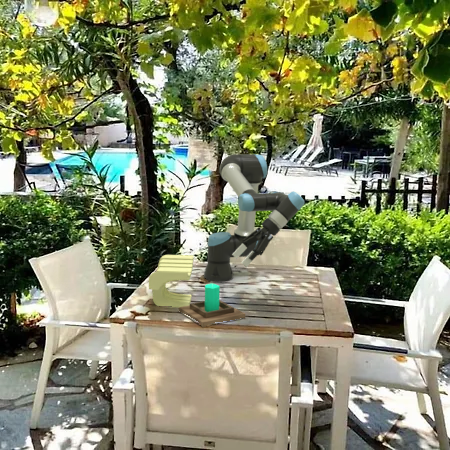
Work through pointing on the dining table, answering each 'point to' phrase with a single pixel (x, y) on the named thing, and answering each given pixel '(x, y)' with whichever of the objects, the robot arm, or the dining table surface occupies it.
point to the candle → (212, 297)
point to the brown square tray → (211, 313)
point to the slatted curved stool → (167, 272)
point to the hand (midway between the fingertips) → (238, 260)
